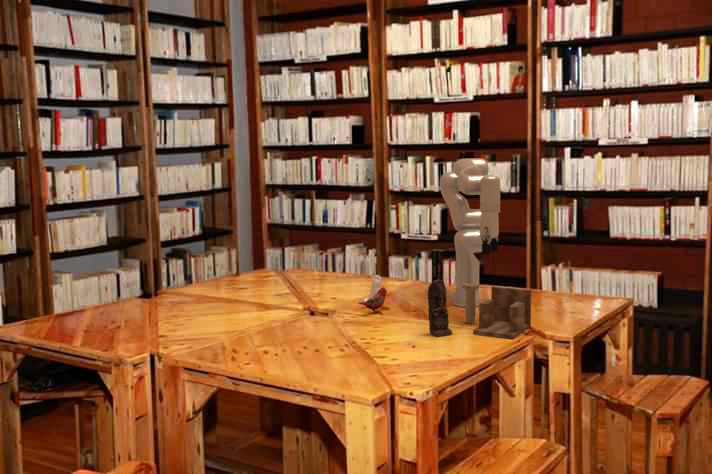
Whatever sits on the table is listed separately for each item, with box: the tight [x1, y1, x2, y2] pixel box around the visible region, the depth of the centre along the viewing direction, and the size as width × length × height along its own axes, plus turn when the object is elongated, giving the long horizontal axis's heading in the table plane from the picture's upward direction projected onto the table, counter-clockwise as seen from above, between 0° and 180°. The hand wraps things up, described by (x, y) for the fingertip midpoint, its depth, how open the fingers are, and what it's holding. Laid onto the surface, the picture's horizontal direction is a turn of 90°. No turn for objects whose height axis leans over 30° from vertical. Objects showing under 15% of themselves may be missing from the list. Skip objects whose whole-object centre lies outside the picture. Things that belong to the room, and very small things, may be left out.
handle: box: [462, 283, 480, 325], centre depth 306 cm, size 5×6×15 cm
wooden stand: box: [472, 285, 532, 340], centre depth 295 cm, size 15×20×14 cm
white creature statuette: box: [361, 274, 385, 302], centre depth 343 cm, size 10×9×12 cm
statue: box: [427, 279, 453, 337], centre depth 291 cm, size 7×7×20 cm
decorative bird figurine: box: [357, 286, 388, 315], centre depth 323 cm, size 3×18×10 cm, turn 137°
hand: (490, 253), depth 310 cm, fingers open, 9 cm apart
